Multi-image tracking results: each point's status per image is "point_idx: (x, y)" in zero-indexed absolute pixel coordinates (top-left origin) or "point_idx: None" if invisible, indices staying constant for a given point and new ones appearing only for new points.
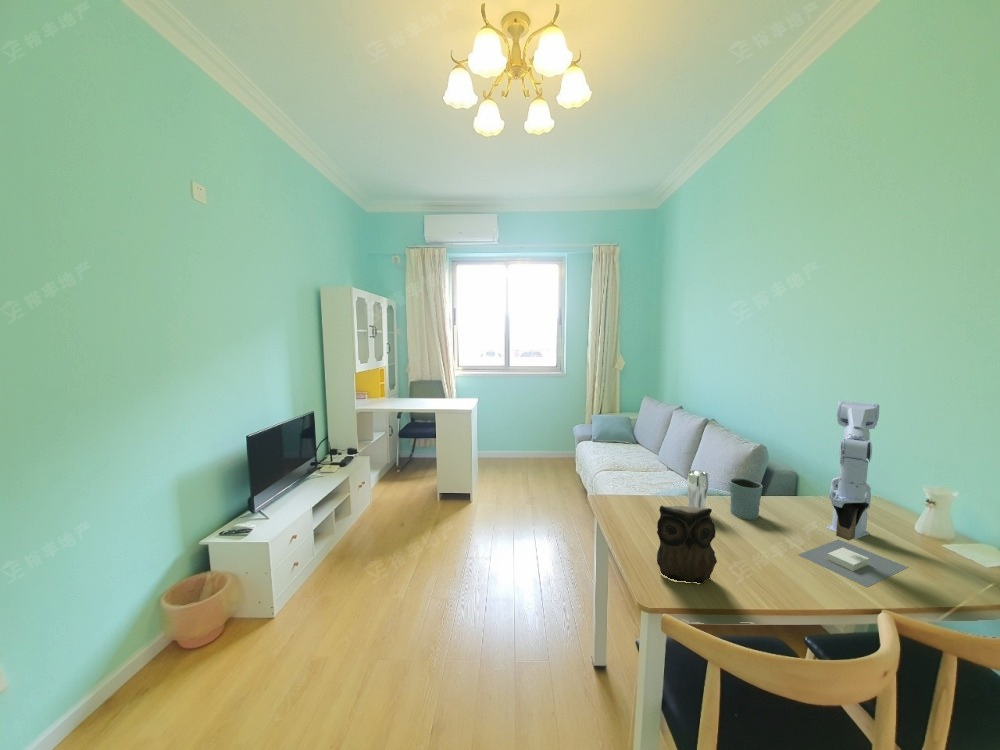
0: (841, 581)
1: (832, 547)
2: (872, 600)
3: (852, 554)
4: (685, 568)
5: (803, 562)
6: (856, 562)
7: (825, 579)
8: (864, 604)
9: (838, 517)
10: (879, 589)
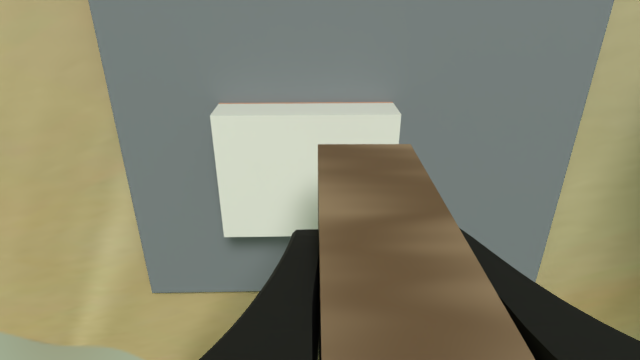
0: (95, 224)
1: (431, 31)
2: (89, 325)
3: None
4: None
5: (56, 48)
6: (268, 230)
7: (26, 189)
8: (28, 325)
9: (268, 284)
10: (204, 305)
